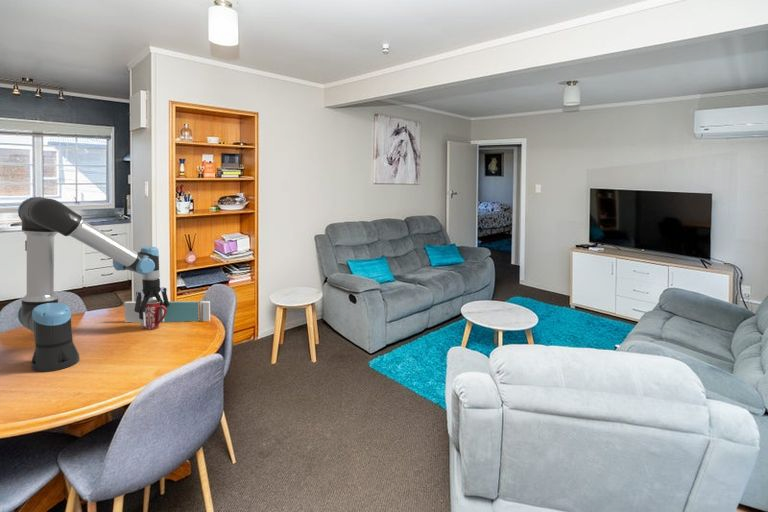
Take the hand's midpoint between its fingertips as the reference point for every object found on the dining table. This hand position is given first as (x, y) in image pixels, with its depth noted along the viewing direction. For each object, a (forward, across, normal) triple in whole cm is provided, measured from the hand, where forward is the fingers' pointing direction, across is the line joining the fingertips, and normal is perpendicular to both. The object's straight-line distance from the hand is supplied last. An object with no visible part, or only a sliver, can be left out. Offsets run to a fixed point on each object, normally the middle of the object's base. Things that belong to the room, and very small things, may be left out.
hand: (153, 323), depth 212 cm
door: (+3, -13, -1) cm, 14 cm away
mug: (+3, 0, 0) cm, 3 cm away
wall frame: (+3, -10, -5) cm, 12 cm away
